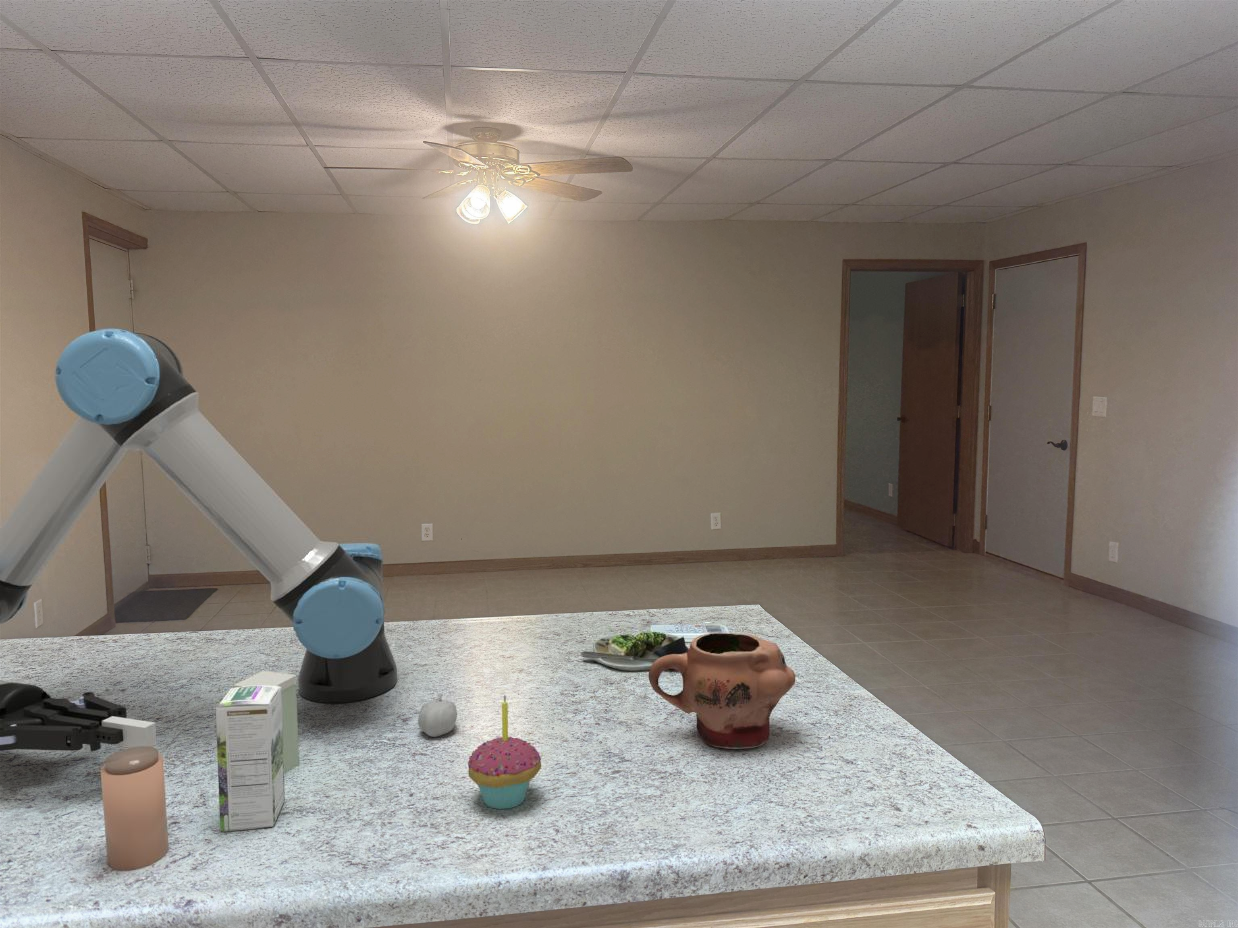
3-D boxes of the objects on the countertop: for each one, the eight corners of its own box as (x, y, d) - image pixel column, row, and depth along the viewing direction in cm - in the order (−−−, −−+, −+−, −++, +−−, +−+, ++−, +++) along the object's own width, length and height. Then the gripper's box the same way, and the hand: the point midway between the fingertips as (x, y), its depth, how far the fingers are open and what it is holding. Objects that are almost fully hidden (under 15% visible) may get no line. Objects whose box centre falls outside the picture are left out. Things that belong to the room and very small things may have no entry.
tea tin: (267, 757, 110) (262, 670, 109) (300, 763, 109) (296, 675, 107) (238, 775, 105) (233, 685, 104) (272, 782, 104) (268, 689, 102)
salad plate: (586, 680, 138) (585, 653, 138) (574, 645, 156) (574, 621, 155) (700, 673, 141) (700, 647, 141) (676, 640, 159) (676, 616, 158)
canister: (169, 834, 92) (162, 740, 91) (168, 861, 87) (162, 761, 86) (109, 848, 89) (102, 751, 88) (105, 876, 84) (97, 773, 83)
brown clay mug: (656, 762, 109) (656, 658, 107) (642, 723, 121) (643, 629, 119) (806, 754, 111) (808, 651, 109) (778, 716, 123) (780, 623, 121)
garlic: (436, 720, 122) (435, 686, 121) (466, 727, 119) (466, 692, 119) (408, 737, 116) (407, 700, 116) (440, 744, 114) (439, 707, 113)
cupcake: (472, 783, 103) (470, 689, 102) (541, 780, 104) (540, 686, 103) (465, 820, 95) (463, 718, 93) (541, 816, 95) (540, 715, 94)
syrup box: (233, 806, 98) (227, 686, 96) (287, 801, 99) (281, 682, 97) (219, 833, 92) (212, 705, 91) (276, 827, 93) (270, 701, 92)
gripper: (52, 720, 112) (195, 743, 106) (-50, 763, 100) (104, 792, 93) (48, 666, 112) (192, 685, 105) (-56, 703, 99) (100, 727, 92)
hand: (150, 736), depth 99 cm, fingers closed
